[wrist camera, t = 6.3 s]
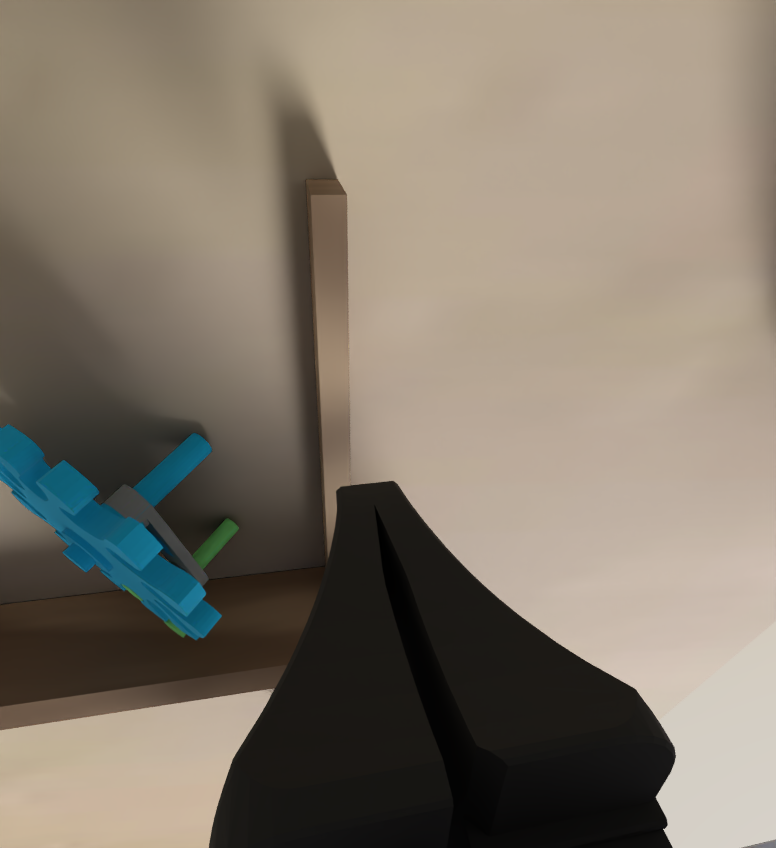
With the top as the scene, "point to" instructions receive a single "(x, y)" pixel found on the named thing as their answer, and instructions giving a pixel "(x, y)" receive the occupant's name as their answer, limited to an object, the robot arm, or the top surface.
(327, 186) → the wooden u-shaped frame
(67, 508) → the gear
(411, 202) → the top surface
